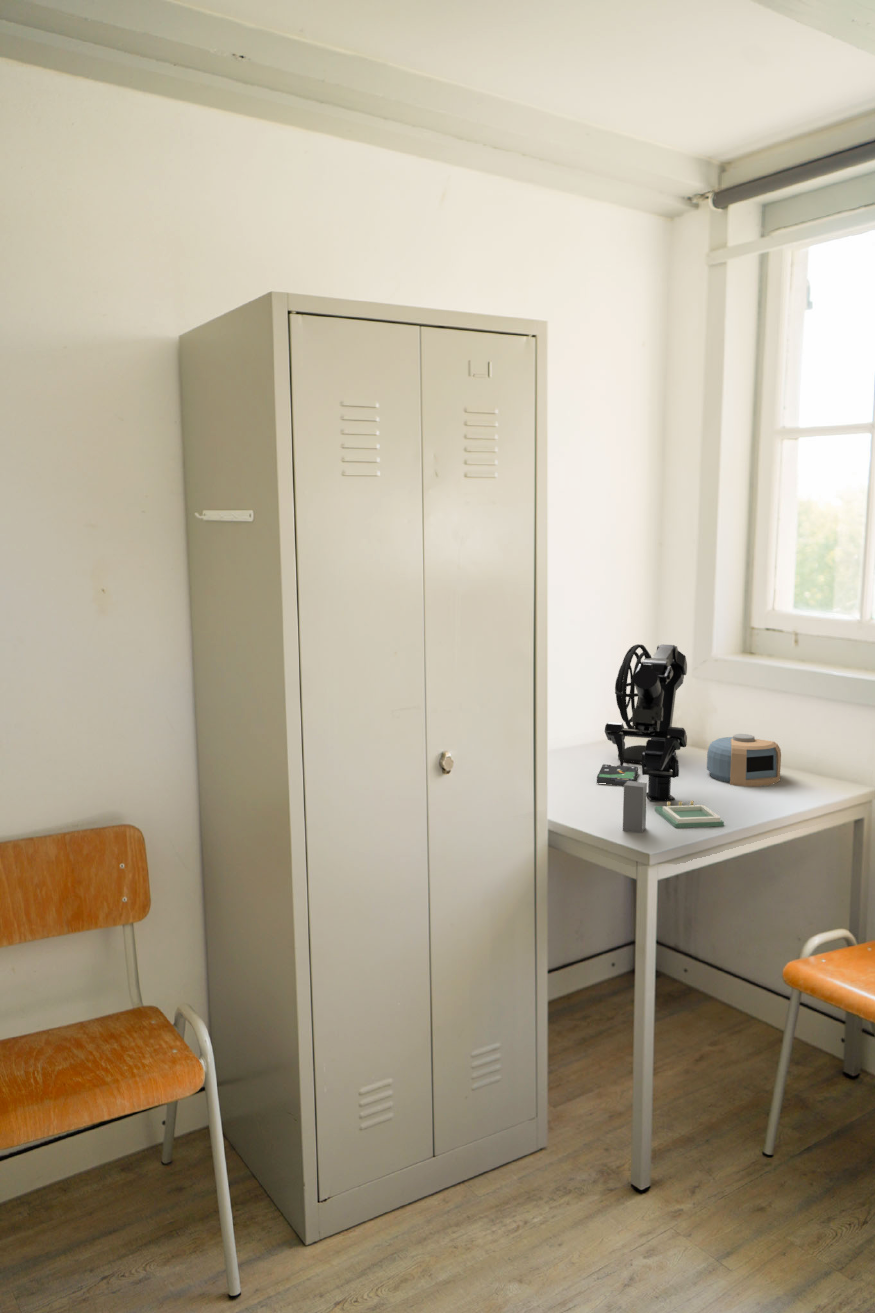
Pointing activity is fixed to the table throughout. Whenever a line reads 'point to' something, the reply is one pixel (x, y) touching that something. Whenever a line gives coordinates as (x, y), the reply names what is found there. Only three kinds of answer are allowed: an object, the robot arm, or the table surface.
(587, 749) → the table surface
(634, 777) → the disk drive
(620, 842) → the table surface
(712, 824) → the green flat piece
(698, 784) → the table surface
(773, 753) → the alarm clock
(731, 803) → the table surface
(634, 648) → the desk fan
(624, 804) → the block
